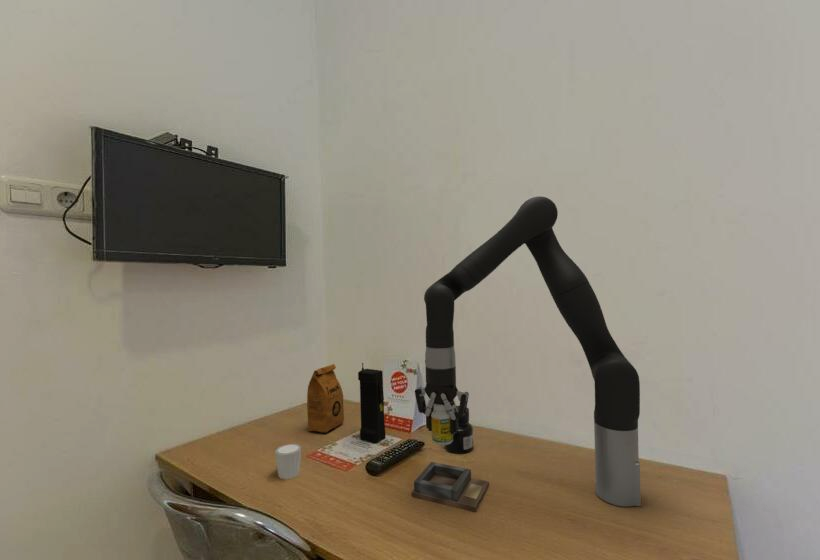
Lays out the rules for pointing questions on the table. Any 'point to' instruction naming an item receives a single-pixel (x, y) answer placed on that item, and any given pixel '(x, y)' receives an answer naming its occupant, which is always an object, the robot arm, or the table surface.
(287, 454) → the white tapered cylinder
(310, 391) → the coffee package
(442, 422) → the supplement bottle
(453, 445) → the ink bottle
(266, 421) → the table surface
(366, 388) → the portable radio
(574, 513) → the table surface
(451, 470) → the socket stand
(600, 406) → the robot arm
